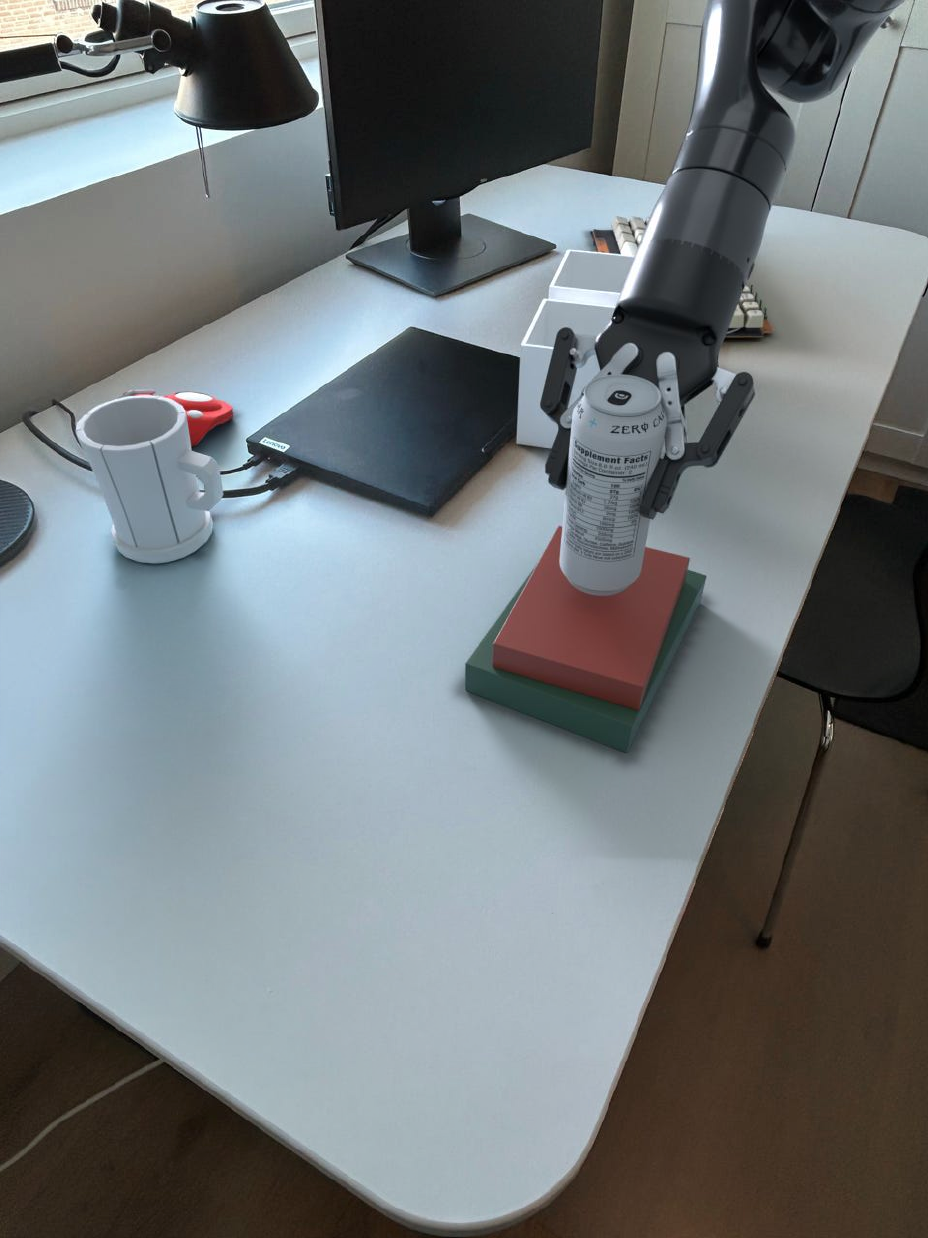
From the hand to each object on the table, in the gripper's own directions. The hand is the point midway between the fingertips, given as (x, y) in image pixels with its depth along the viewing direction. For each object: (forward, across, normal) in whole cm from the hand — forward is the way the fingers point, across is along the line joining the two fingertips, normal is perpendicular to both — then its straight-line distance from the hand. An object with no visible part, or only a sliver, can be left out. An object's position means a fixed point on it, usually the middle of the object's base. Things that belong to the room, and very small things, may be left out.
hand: (600, 500), depth 59 cm
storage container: (-16, -17, +38) cm, 45 cm away
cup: (+14, -39, +7) cm, 42 cm away
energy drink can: (+4, 0, +7) cm, 8 cm away
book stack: (+10, 0, +12) cm, 15 cm away
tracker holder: (+4, -52, +18) cm, 55 cm away
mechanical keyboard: (-40, -20, +62) cm, 77 cm away
